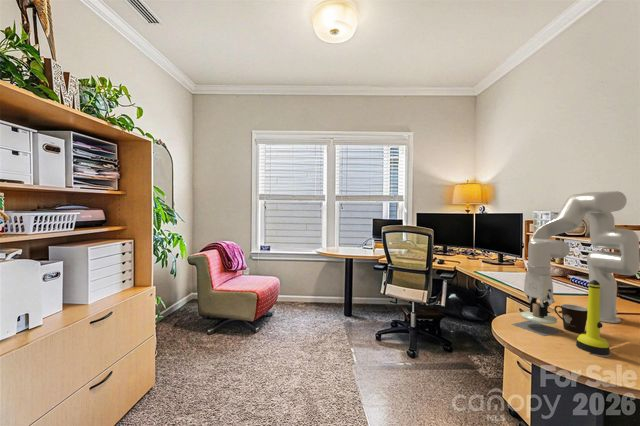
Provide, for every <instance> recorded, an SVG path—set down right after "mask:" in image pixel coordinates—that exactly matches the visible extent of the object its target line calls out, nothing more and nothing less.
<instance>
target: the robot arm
mask: <svg viewBox="0 0 640 426" xmlns="http://www.w3.org/2000/svg"><path fill="white" fill-rule="evenodd" d="M627 200H628V199H627V196H626V195H625V194H624V192H622V191H618V190H617V191H616V190H615V191H613V190H612V191H590V192H587V191H586V192H582V193H576V194H572V195H570V196H568V197H567V198H566V200H565V202H564V204H562V207H561V208H560V210H559V212H558V213H557V215H556V217H555V218H554V219H552V220H550V221H548V222H547V223H545V224H543V225H542V226H540V227H539V228H537V229H536V230H535V231H534V233H533V235H532V237H531V238H530V239H529V241H528V247H527V249H528V251H527V271H526V273H525V277H524V284H523V286H524V287H523V290H524V291H523V294H524V295H525V296H526V297H527V299H528V302H529V311H530V312H533V303H538V300H539V303H540V304H541V306H540V307H539V315H540V316H541V317H542V316H547V315H549V313H548V312H549V311H548V308H549V307H550V306H551V305H552V304H555V303H556V301H555V299H554V286H553V285H554V284H553V279H552V275H551V259H553V258H554V259H564V258H566V257H567V256H568V255H569V254H570V252H571V249H570V245H569V244H568V243H567V242H566V241H563V240H560V239H559V240H558V239H550V238H552V237H554V236H556V235H559V234H563V233H568V232H572V231H574V230H576V229H578V228H579V227H580V225H581V223H582V221H583V220H584V218H585V217H586V215H587V217H588V221H589V240H590V243H591V246H593V247H595V248H599V249H605V250H592V251H590V252H589V253H588V254H587V256H586V264H587V268H588V269H587V270H588V284H589V283H590V282H591V281H592V280H596V281H597V282H598V283H599V284H600V285H601V287H600V322H601V323H609V324H619V323H621V321H622V320H621V318H619V317H617V314H618V313H619V311H618V309H617V291H618V289H617V288H618V284H617V283H618V282H617V280H616V278H615V276H614V275H613V274H617V275H623V276H634V275H635V276H636V274H638V273H639V272H640V271H639V270H640V241H639V240H640V239H639V236H638V234H637V233H636V232H635V231H634V230H632V229H627V228H616V226H615V224H616V223H615V217H614V215H613V213H612V212H620V211H621V210H623V209H624V208H625V207H626V205H627V203H628V201H627ZM607 250H615V251H607ZM616 251H619V252H616Z"/></svg>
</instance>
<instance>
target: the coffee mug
mask: <svg viewBox="0 0 640 426" xmlns="http://www.w3.org/2000/svg"><path fill="white" fill-rule="evenodd" d="M557 308H560V309H561V315H560V314H559V312H558V311H557ZM554 312H555V314H556V315H557V316H558V318H560V319H561V320H562V323H563V330H565V331H567V332H569V333H575V334H579V335H580V334H585V331H586V328H587V313H588V307H584V306H581V305H577V304H569V303H563V304H561V305H554Z"/></svg>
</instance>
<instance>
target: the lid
mask: <svg viewBox="0 0 640 426" xmlns="http://www.w3.org/2000/svg"><path fill="white" fill-rule="evenodd" d="M540 306H541V304H540V302H537V303H533V312H530V310H526V311H521V312H520V317H521V318H522V319H525V321H532V322H536V323H540V324H543V325H545V324H546V325H554V324H557V322H558V319H557V318H556V317H555V316H554V315H551V314H548V315H547V316H542V317H541V316H540V315H539V307H540Z"/></svg>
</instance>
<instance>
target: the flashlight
mask: <svg viewBox="0 0 640 426" xmlns="http://www.w3.org/2000/svg"><path fill="white" fill-rule="evenodd" d="M600 287H601V285H600V284H599V283H598V282H597V281H596V280H592V281H591V282H590V283H589V282H588V298H587V309H588V313H587V322H586V329H585V331H586V333H583V334H580V333H579V335H578V337H577V338H576V344H575V346H576V347H577V348H578V349H580V350H582V351H584V352H587V353H588V355H592V356H596V357H602V358H603V357H604V358H606V357H610V356H611V351H610V345H609V342H608V341H607V339H605V338H603V337H601V334H600V333H601V329H602V328H603V326H604V325H603V322H601V321H600Z"/></svg>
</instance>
